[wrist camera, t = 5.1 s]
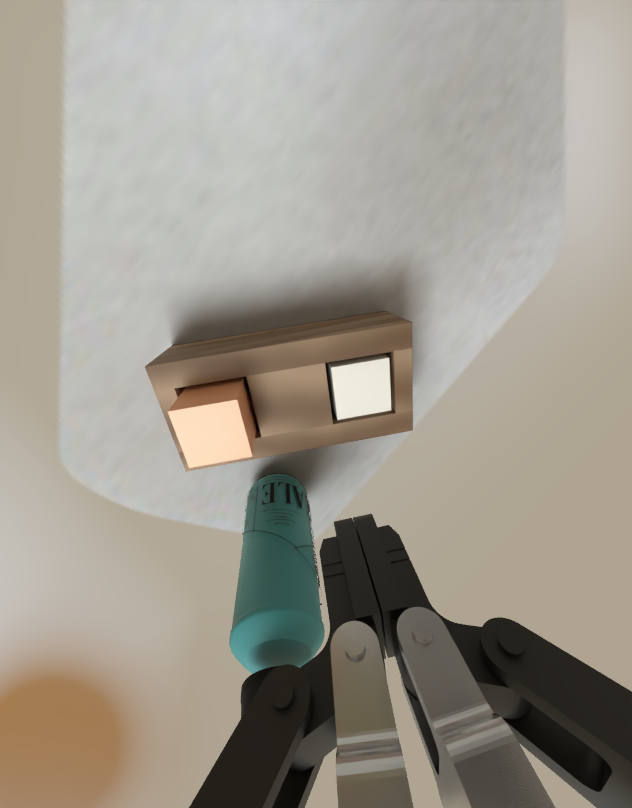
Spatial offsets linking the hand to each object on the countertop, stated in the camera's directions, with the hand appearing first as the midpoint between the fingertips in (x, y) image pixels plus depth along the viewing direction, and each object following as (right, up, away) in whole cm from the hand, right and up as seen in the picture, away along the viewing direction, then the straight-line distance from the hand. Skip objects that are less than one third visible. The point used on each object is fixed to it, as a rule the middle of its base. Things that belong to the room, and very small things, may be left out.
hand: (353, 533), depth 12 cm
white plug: (+2, +8, +16) cm, 18 cm away
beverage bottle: (-6, -4, +22) cm, 23 cm away
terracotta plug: (-9, +5, +13) cm, 17 cm away
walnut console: (-4, +8, +17) cm, 19 cm away
